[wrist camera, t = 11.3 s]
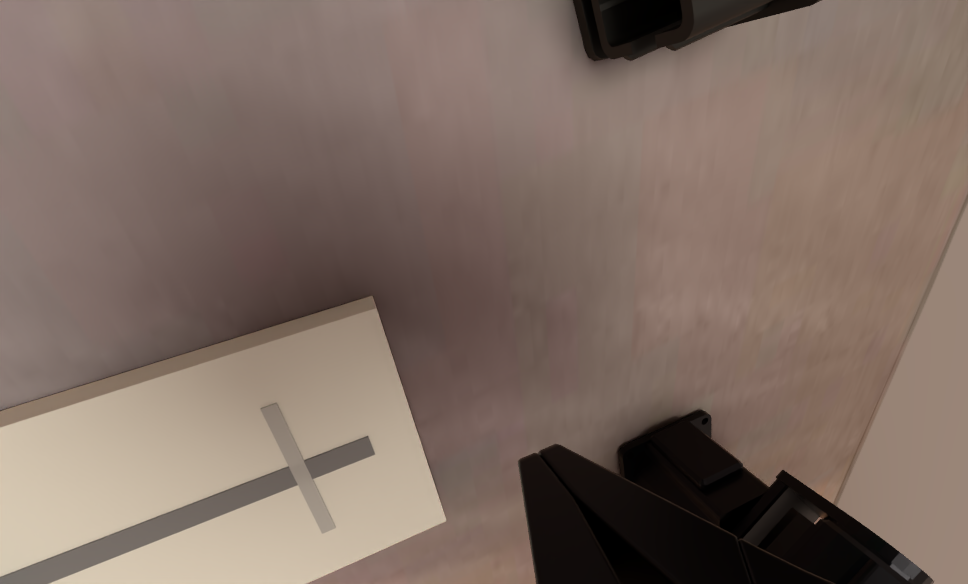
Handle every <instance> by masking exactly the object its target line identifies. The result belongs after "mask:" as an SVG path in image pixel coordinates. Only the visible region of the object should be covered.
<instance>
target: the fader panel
mask: <svg viewBox="0 0 968 584" xmlns="http://www.w3.org/2000/svg"><path fill="white" fill-rule="evenodd" d="M445 521H446V518H445V514H444V511H443V508H442V505H441V502H440V499H439V496H438V493H437V490H436V487H435V484H434V481H433V478H432V475H431V472H430V469H429V466H428V463H427V460H426V457H425V454H424V450H423V447H422V444H421V441H420V438H419V435H418V432H417V429H416V426H415V423H414V420H413V417H412V414H411V411H410V408H409V405H408V402H407V399H406V396H405V393H404V390H403V387H402V384H401V381H400V378H399V375H398V372H397V368H396V365H395V362H394V359H393V356H392V353H391V350H390V347H389V344H388V341H387V338H386V335H385V332H384V329H383V326H382V323H381V320H380V317H379V314H378V311H377V308H376V305H375V302H374V299H373V296H369V297H366V298H363V299H360V300H356V301H353V302H350V303H347V304H344V305H340V306H337V307H334V308H331V309H327V310H324V311H321V312H318V313H315V314H311V315H308V316H305V317H302V318H298V319H295V320H292V321H289V322H286V323H282V324H279V325H276V326H273V327H269V328H266V329H263V330H260V331H257V332H253V333H250V334H247V335H244V336H240V337H237V338H234V339H231V340H228V341H224V342H221V343H218V344H215V345H211V346H208V347H205V348H202V349H199V350H195V351H192V352H189V353H186V354H182V355H179V356H176V357H173V358H170V359H166V360H163V361H160V362H157V363H153V364H150V365H147V366H144V367H141V368H137V369H134V370H131V371H128V372H124V373H121V374H118V375H115V376H112V377H108V378H105V379H102V380H99V381H95V382H92V383H89V384H86V385H83V386H79V387H76V388H73V389H70V390H66V391H63V392H60V393H57V394H54V395H50V396H47V397H44V398H41V399H37V400H34V401H31V402H28V403H25V404H21V405H18V406H15V407H12V408H8V409H5V410H2V411H0V584H307V583H309V582H311V581H313V580H316V579H318V578H320V577H322V576H325V575H327V574H329V573H331V572H333V571H336V570H338V569H340V568H342V567H345V566H347V565H349V564H351V563H354V562H356V561H358V560H360V559H363V558H365V557H367V556H369V555H371V554H374V553H376V552H378V551H380V550H383V549H385V548H387V547H389V546H392V545H394V544H396V543H398V542H401V541H403V540H405V539H407V538H409V537H412V536H414V535H416V534H418V533H421V532H423V531H425V530H427V529H430V528H432V527H434V526H436V525H439V524H441V523H443V522H445Z"/></svg>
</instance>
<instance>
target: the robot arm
mask: <svg viewBox="0 0 968 584" xmlns="http://www.w3.org/2000/svg"><path fill="white" fill-rule="evenodd" d="M619 461H620V471H621V476H619V475H617V474H615V473H613V472H612V471H610V470H608V469H606V468H604V467H602V466H600V465H598V464H596V463H594V462H592V461H590V460H588V459H586V458H584V457H583V456H581V455H579V454H577V453H575V452H573V451H571V450H569V449H567V448H565V447H563V446H561V445H559V444H554V445H552V446H549V447H547V448H545V449H542V450H540V451H539V453H538V454H537V453H533V454H531V455H528V456H526V457H524V458H521V459H520V460H519V461H518V466H519V473H520V479H521V486H522V492H523V499H524V506H525V512H526V519H527V525H528V532H529V539H530V545H531V552H532V558H533V565H534V572H535V578H536V584H933V583H934V581H933V580H932V579H931V578H930V577H929V576H928V575H927V574H926V573H925V572H924V571H922V570H921V569H920V568H919V567H918V566H916V565H915V564H914V563H913V562H911V561H910V560H909V559H908V558H906V557H905V556H904V555H903V554H901V553H900V552H899V551H897V550H896V549H895V548H893V547H892V546H891V545H889V544H888V543H887V542H885V541H884V540H883V539H882V538H880V537H879V536H878V535H876V534H875V533H873V532H872V531H871V530H869V529H868V528H867V527H865V526H864V525H862V524H861V523H860V522H858V521H857V520H855V519H854V518H852V517H851V516H849V515H848V514H847V513H845V512H844V511H842V510H841V509H839V508H838V507H836V506H835V505H833V504H832V503H831V502H829V501H828V500H826V499H825V498H823V497H822V496H820V495H819V494H817V493H816V492H815V491H813V490H812V489H810V488H809V487H807V486H806V485H804V484H803V483H801V482H800V481H799V480H797V479H796V478H794V477H793V476H791V475H790V474H788V473H787V472H785V471H784V470H782V471H781V472H780V473H779V474H778V475H777V476H776V478H777V479H776V481H775V482H774V483H773V484H772V485H771V486H770V487H768V486H767V485H766V484H764V483H763V482H762V481H761V480H759V479H758V478H757V477H756V476H754V475H753V474H752V473H751V472H749V471H748V470H747V469H746V468H744V467H743V464H742V463H741V462H740V461H739V460H738V459H737V458H735V457H734V456H733V455H732V454H730V453H729V452H728V451H726V450H725V449H724V448H723V447H721V446H720V445H719V444H718V443H716V442H715V441H714V440H712V439H711V416H710V415H709V414H708V413H706V412H705V411H699V412H697V413H695V414H693V415H691V416H688V417H686V418H684V419H682V420H679V421H677V422H675V423H673V424H671V425H668V426H666V427H664V428H662V429H659V430H657V431H655V432H653V433H651V434H648V435H646V436H644V437H642V438H639V439H637V440H635V441H633V442H631V443H628V444H626V445H624V446H623V447H622V448H621V449H620V451H619ZM819 517H821V518H822V519H820V520H819V521H818V522H817V523H816V524H814V522H815V521H816V520H817V519H818V518H819Z"/></svg>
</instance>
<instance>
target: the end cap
mask: <svg viewBox="0 0 968 584" xmlns="http://www.w3.org/2000/svg"><path fill="white" fill-rule="evenodd" d="M573 1H574V5H575V9H576V14H577V18H578V22H579V26H580V30H581V34H582V38H583V42H584V46H585V51H586V52H587V54H588V56H589V58H591V59H593V60H594V61H596V60H603V59H606V58H611V59H616V58H620V57H624V58H625V59H627V60H630V61H632V60H634V59H636V58H638V57H641V56H643V55H645V54H647V53H649V52H652V51H654V50H656V49H658V48H660V47H664V46H666V47H667V48H668V49H670V50H674V51H676V50H678V49H680V48H682V47H684V46H686V45H689V44H691V43H693V42H695V41H697V40H699V39H702V38H704V37H706V36H708V35H710V34H712V33H715V32H717V31H719V30H721V29H723V28H725V27H729V26H733V25H737V24H741V23H745V22H749V21H753V20H756V19H760V18H764V17H768V16H772V15H776V14H780V13H784V12H787V11H791V10H795V9H799V8H803V7H807V6H811V5H813V4H815V3H817V2H819V1H821V0H573Z"/></svg>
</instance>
